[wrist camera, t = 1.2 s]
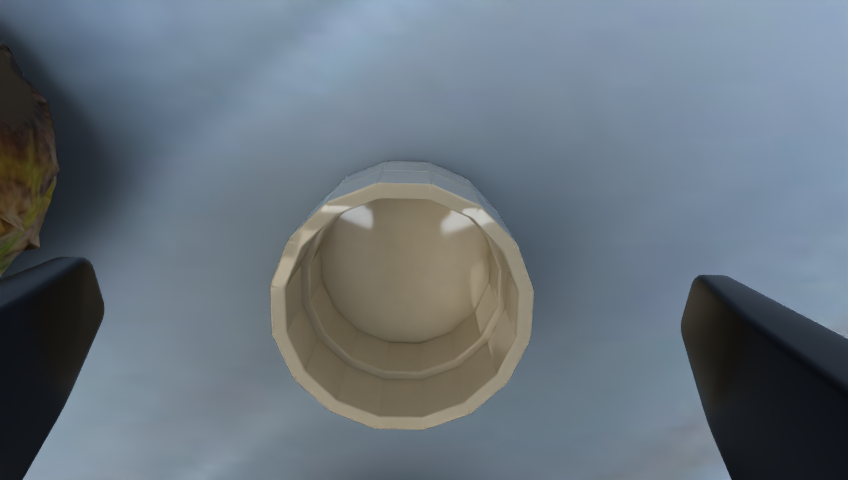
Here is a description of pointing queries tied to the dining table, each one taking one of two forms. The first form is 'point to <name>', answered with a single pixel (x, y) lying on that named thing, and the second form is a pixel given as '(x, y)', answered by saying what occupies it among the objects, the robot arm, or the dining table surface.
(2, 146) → the fruit
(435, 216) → the bowl
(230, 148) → the dining table surface
